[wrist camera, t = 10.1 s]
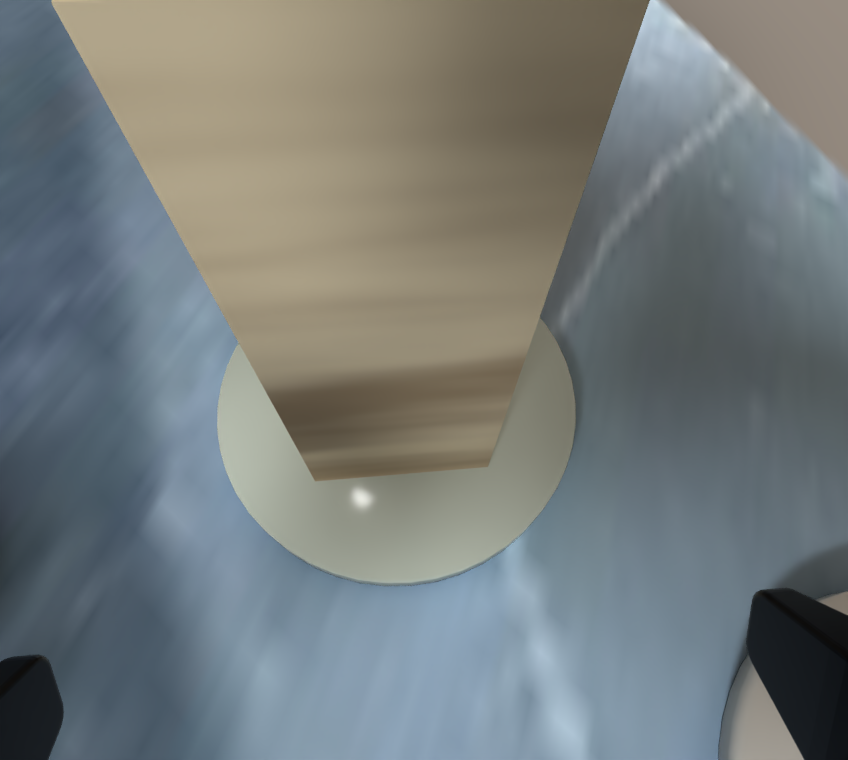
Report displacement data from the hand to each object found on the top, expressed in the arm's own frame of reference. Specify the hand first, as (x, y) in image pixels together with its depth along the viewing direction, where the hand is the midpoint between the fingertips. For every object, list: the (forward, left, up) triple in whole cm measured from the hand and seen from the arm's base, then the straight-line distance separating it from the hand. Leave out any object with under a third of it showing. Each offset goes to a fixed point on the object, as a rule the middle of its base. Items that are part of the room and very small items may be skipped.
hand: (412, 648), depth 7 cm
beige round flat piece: (+7, -2, -9) cm, 12 cm away
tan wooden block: (+7, -2, -8) cm, 11 cm away
